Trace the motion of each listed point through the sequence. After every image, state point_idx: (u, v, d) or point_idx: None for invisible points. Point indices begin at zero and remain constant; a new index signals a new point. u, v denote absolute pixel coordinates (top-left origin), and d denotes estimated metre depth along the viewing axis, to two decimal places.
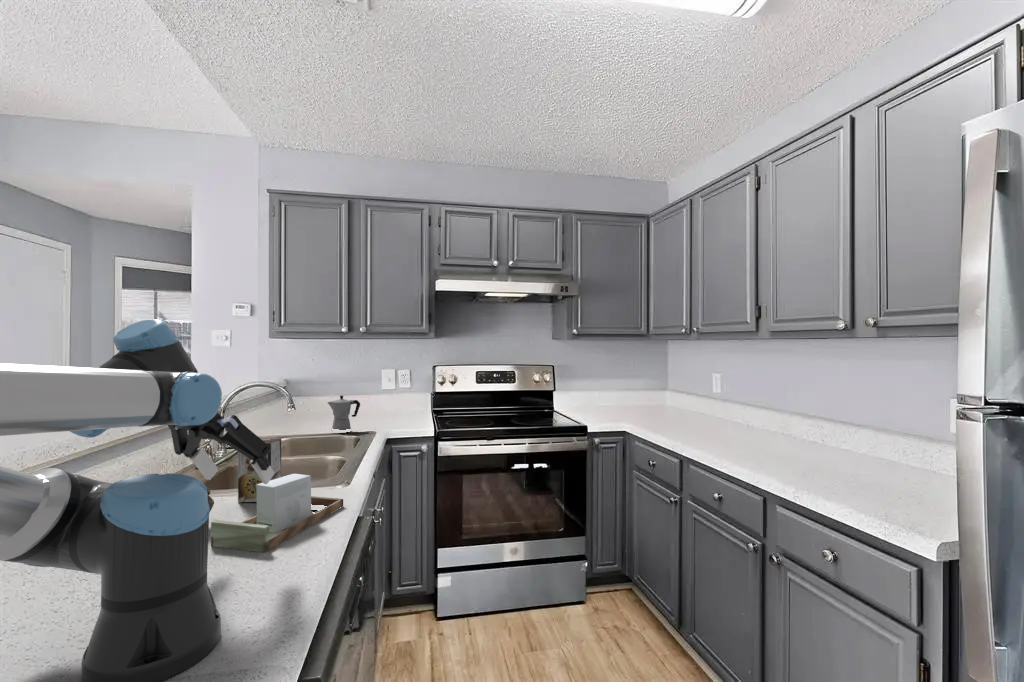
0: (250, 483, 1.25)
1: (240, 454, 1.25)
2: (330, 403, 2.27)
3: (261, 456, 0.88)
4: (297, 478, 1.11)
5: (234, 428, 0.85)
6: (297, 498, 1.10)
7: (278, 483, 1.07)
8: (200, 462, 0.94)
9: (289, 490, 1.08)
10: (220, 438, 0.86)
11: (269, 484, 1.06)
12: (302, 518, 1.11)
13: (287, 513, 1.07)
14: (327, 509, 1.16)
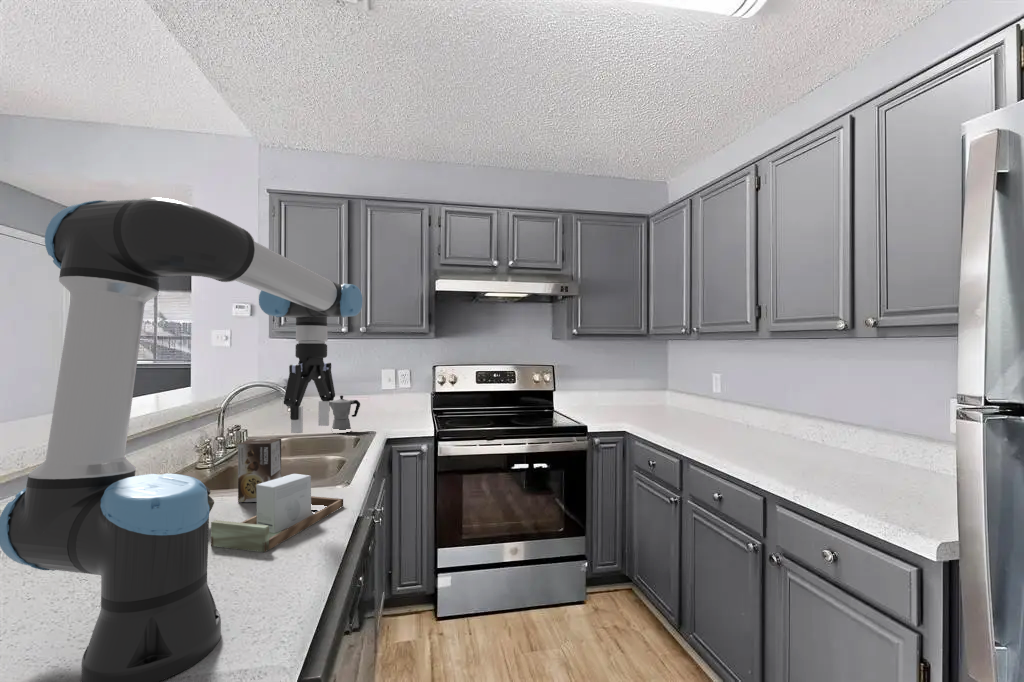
0: (250, 483, 1.25)
1: (240, 454, 1.25)
2: (330, 403, 2.27)
3: (334, 394, 1.28)
4: (297, 478, 1.11)
5: None
6: (297, 498, 1.10)
7: (278, 483, 1.07)
8: None
9: (289, 490, 1.08)
10: None
11: (269, 484, 1.06)
12: (302, 518, 1.11)
13: (287, 513, 1.07)
14: (327, 509, 1.16)
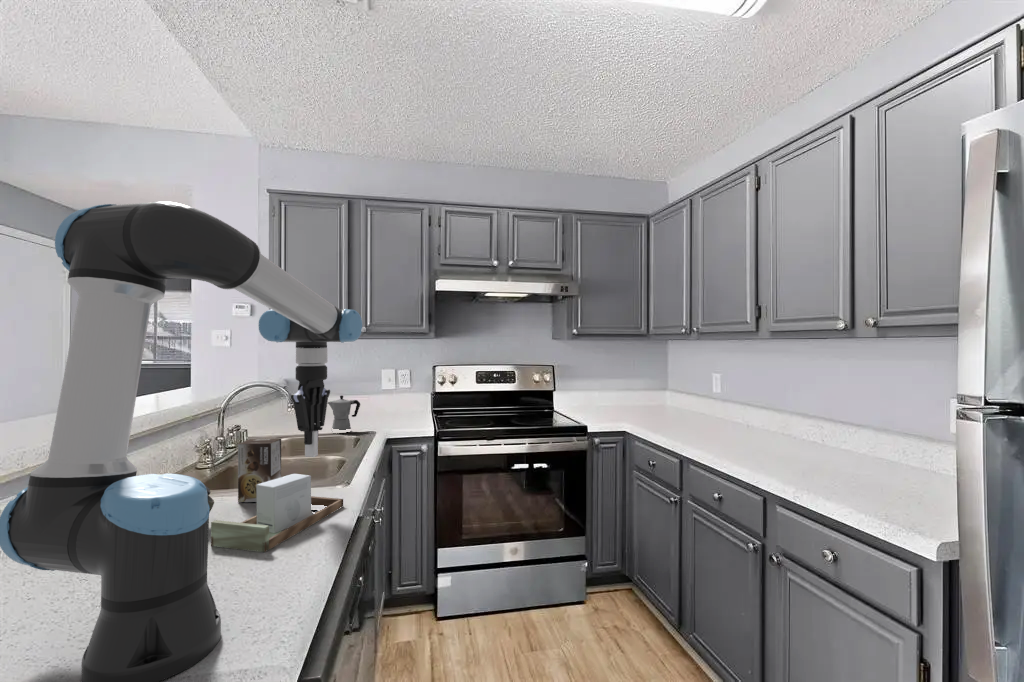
0: (250, 483, 1.25)
1: (240, 454, 1.25)
2: (330, 403, 2.27)
3: (323, 423, 1.23)
4: (297, 478, 1.11)
5: None
6: (297, 498, 1.10)
7: (278, 483, 1.07)
8: None
9: (289, 490, 1.08)
10: None
11: (269, 484, 1.06)
12: (302, 518, 1.11)
13: (287, 513, 1.07)
14: (327, 509, 1.16)
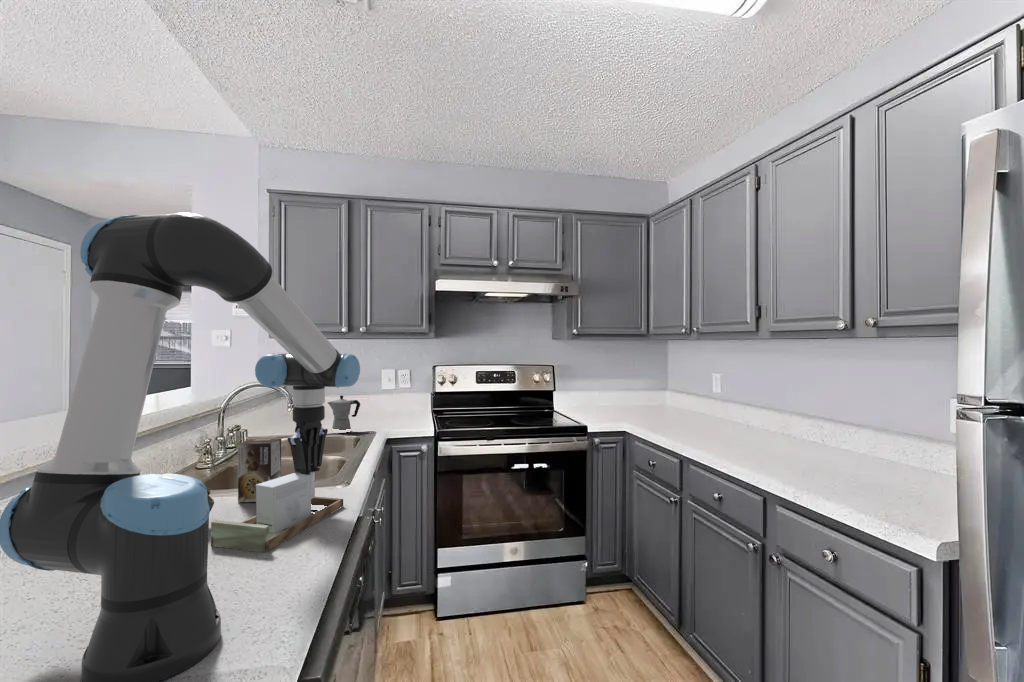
0: (250, 483, 1.25)
1: (240, 454, 1.25)
2: (330, 403, 2.27)
3: (321, 463, 1.22)
4: (297, 478, 1.11)
5: None
6: (297, 498, 1.10)
7: (277, 483, 1.07)
8: None
9: (289, 490, 1.08)
10: None
11: (268, 484, 1.06)
12: (302, 518, 1.11)
13: (287, 513, 1.07)
14: (327, 509, 1.16)
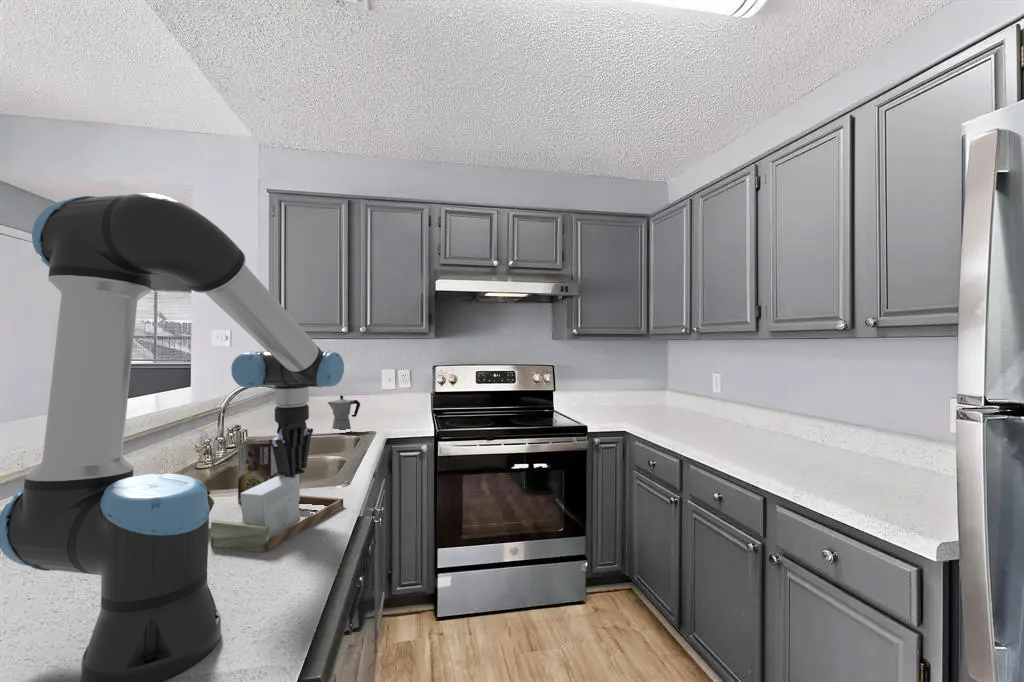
0: (250, 483, 1.25)
1: (240, 454, 1.25)
2: (330, 403, 2.27)
3: (306, 465, 1.16)
4: (283, 482, 1.06)
5: None
6: (285, 503, 1.05)
7: (265, 490, 1.02)
8: None
9: (277, 495, 1.03)
10: None
11: (255, 492, 1.01)
12: (291, 522, 1.07)
13: (277, 519, 1.03)
14: (327, 509, 1.16)
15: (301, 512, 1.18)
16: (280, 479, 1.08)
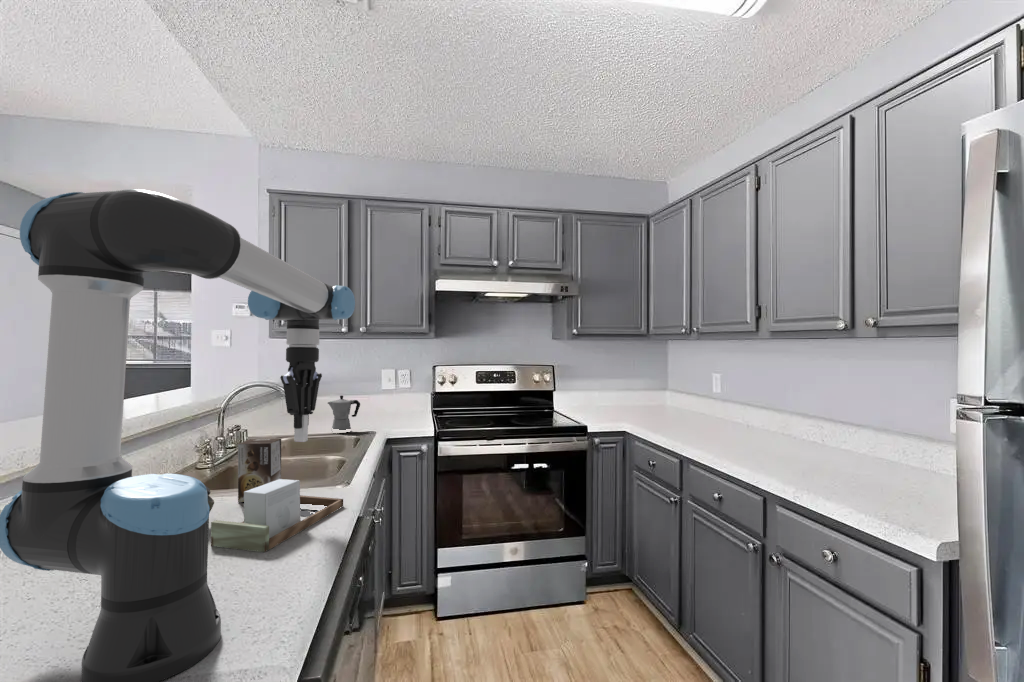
0: (250, 483, 1.25)
1: (240, 454, 1.25)
2: (330, 403, 2.27)
3: (314, 407, 1.19)
4: (286, 483, 1.07)
5: None
6: (287, 505, 1.06)
7: (268, 489, 1.03)
8: None
9: (280, 496, 1.04)
10: None
11: (258, 491, 1.02)
12: (292, 525, 1.07)
13: (278, 520, 1.03)
14: (327, 509, 1.16)
15: (301, 512, 1.18)
16: (283, 481, 1.09)
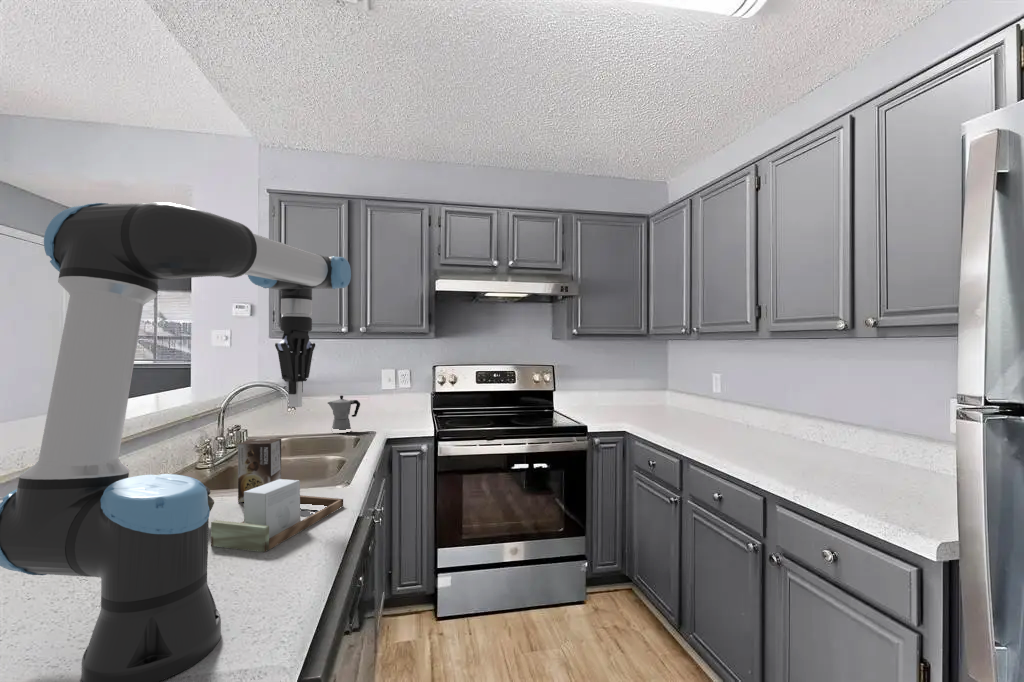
0: (250, 483, 1.25)
1: (240, 454, 1.25)
2: (330, 403, 2.27)
3: (308, 375, 1.25)
4: (286, 483, 1.07)
5: None
6: (287, 505, 1.06)
7: (268, 489, 1.03)
8: None
9: (280, 496, 1.04)
10: None
11: (258, 491, 1.02)
12: (292, 525, 1.07)
13: (278, 520, 1.03)
14: (327, 509, 1.16)
15: (301, 512, 1.18)
16: (283, 481, 1.09)
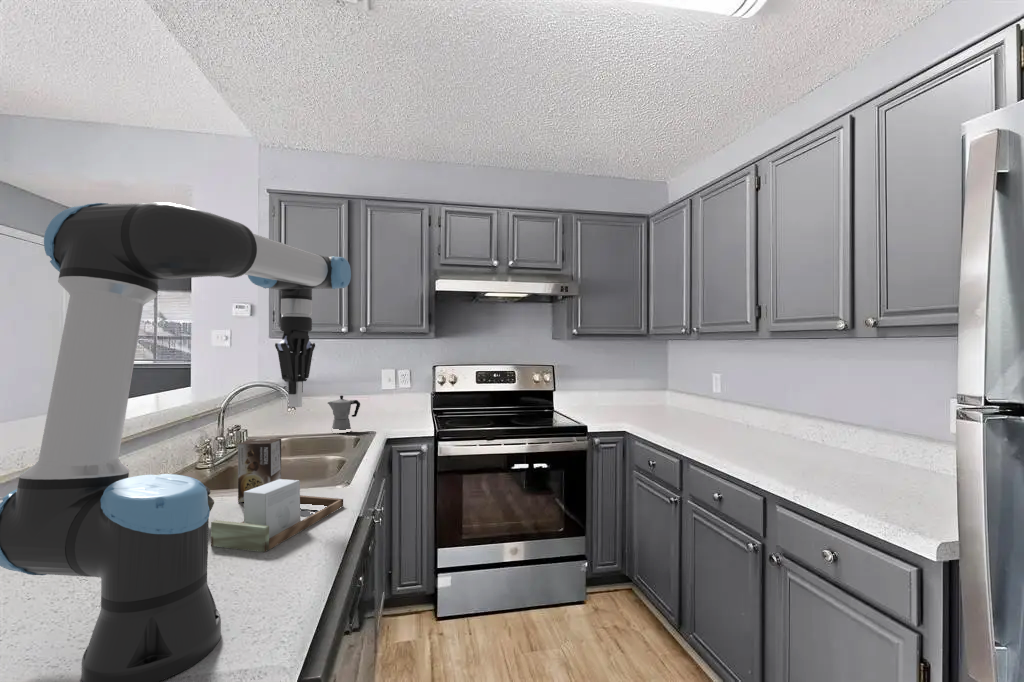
0: (250, 483, 1.25)
1: (240, 454, 1.25)
2: (330, 403, 2.27)
3: (308, 375, 1.25)
4: (286, 483, 1.07)
5: None
6: (287, 505, 1.06)
7: (268, 489, 1.03)
8: None
9: (280, 496, 1.04)
10: None
11: (258, 491, 1.02)
12: (292, 525, 1.07)
13: (278, 520, 1.03)
14: (327, 509, 1.16)
15: (301, 512, 1.18)
16: (283, 481, 1.09)
